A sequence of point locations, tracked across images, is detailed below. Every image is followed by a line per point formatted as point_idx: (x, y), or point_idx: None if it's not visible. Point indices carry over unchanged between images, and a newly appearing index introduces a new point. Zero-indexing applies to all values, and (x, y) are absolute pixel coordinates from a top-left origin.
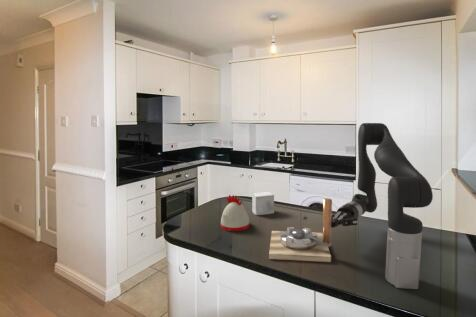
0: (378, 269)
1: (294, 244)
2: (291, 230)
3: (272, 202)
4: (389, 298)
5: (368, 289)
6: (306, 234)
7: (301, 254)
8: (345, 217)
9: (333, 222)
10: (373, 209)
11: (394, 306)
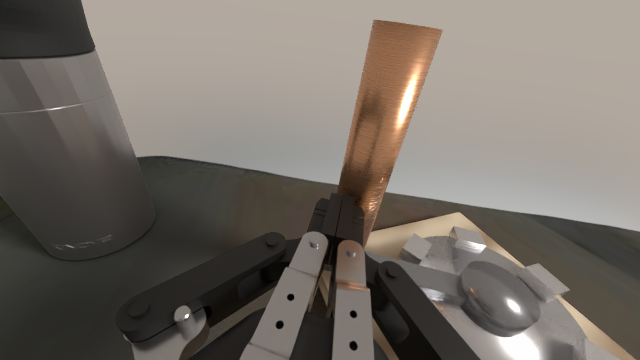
0: (149, 265)
1: (437, 238)
2: (577, 354)
3: None
4: (182, 171)
5: (217, 182)
6: (483, 349)
7: (393, 232)
8: (260, 313)
9: (333, 192)
10: None
11: (183, 159)
